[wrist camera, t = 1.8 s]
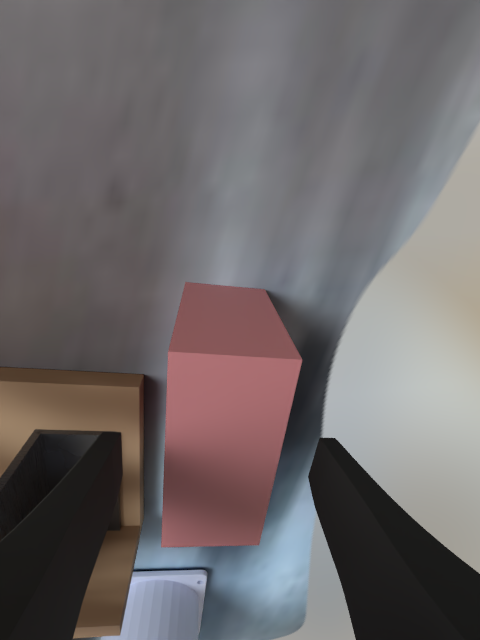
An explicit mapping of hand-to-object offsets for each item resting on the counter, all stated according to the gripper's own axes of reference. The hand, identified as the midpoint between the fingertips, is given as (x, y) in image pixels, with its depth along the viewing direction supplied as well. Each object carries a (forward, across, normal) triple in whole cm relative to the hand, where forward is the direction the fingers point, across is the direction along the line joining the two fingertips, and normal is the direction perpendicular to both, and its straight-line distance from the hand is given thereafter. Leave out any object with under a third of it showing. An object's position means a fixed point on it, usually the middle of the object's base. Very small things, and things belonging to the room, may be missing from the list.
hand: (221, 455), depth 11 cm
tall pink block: (+7, 0, 0) cm, 7 cm away
